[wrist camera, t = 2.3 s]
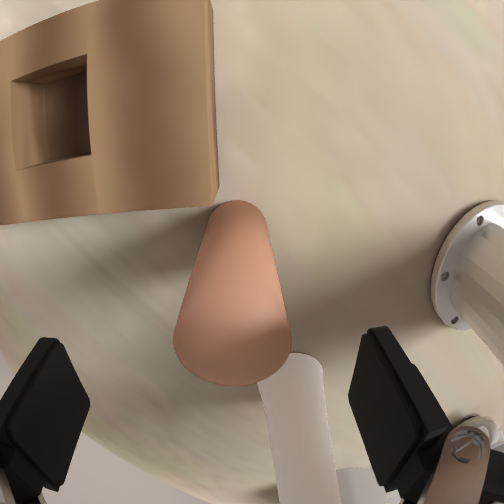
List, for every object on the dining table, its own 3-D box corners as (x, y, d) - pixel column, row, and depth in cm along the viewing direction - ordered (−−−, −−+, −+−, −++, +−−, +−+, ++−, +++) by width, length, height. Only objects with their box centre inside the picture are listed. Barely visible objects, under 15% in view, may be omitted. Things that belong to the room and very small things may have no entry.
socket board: (212, 10, 15) (204, -21, 11) (219, 186, 20) (212, 206, 16) (-4, 69, 15) (-45, 68, 11) (7, 209, 20) (-31, 229, 15)
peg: (266, 199, 21) (293, 293, 10) (266, 255, 22) (288, 383, 11) (205, 201, 21) (164, 297, 10) (209, 257, 22) (183, 386, 11)
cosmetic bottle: (333, 378, 27) (392, 600, 7) (278, 405, 29) (302, 618, 8) (302, 340, 25) (362, 615, 5) (242, 371, 27) (249, 626, 6)
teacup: (471, 438, 37) (488, 470, 30) (423, 456, 37) (437, 493, 30) (506, 385, 32) (531, 419, 24) (456, 404, 32) (479, 447, 24)
